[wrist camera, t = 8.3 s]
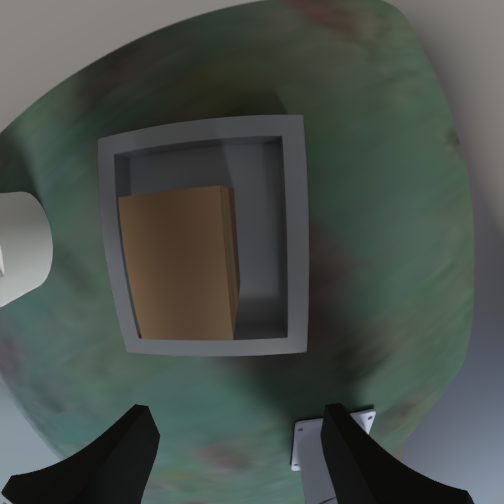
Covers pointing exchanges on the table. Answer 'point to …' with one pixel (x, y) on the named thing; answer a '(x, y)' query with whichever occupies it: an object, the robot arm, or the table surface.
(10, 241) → the cylinder with rectangular tab
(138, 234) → the walnut block
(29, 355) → the table surface
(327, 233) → the table surface
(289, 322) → the tray
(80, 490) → the robot arm
